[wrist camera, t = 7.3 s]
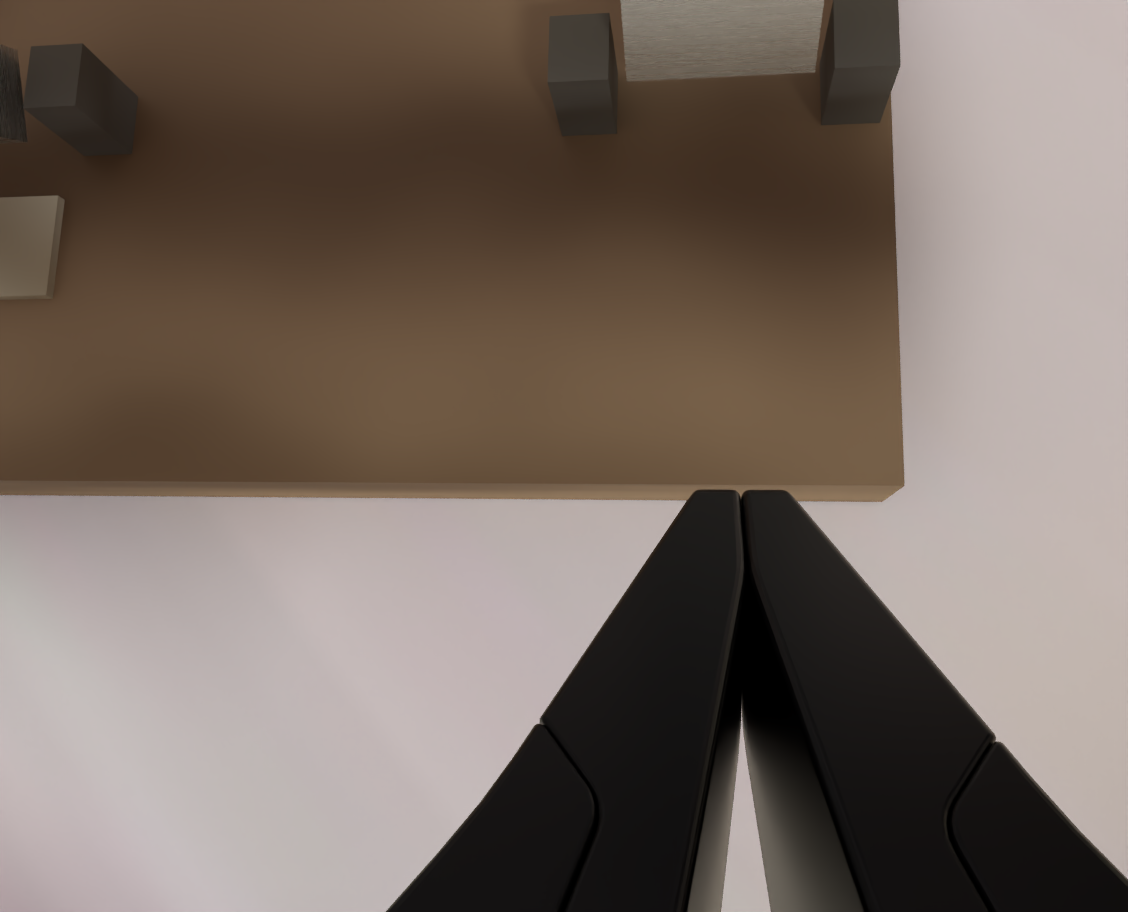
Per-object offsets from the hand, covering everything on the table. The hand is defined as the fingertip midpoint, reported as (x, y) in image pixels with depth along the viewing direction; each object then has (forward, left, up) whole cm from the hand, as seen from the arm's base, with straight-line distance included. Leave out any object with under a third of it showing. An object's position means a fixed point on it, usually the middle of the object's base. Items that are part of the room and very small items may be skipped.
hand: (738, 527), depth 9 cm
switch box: (+1, +10, -9) cm, 14 cm away
